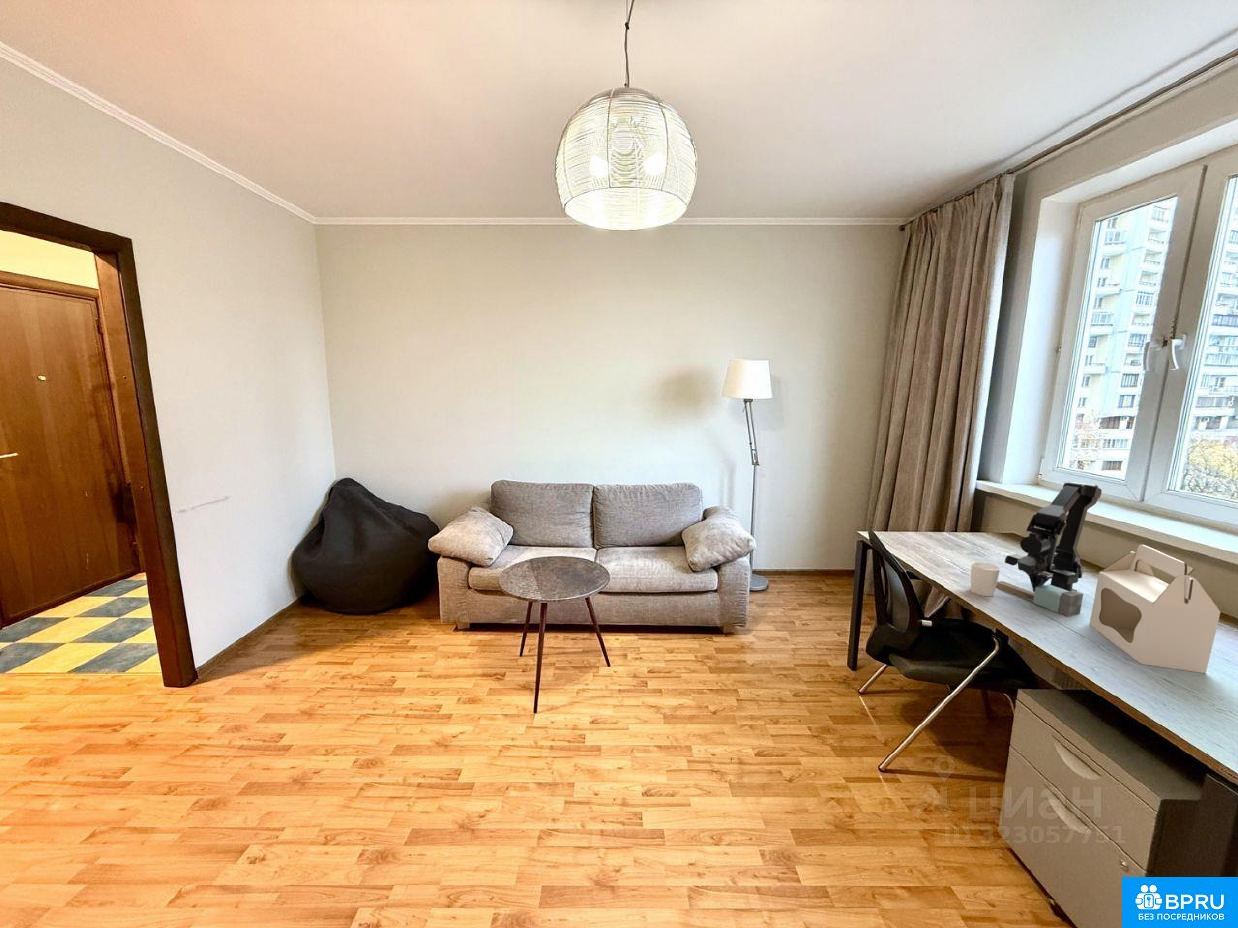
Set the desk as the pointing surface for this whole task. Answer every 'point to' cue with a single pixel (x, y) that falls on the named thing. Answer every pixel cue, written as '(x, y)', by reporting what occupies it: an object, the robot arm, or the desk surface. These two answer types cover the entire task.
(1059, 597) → the block
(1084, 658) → the desk surface
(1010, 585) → the rail
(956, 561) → the desk surface
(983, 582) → the white cup
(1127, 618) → the gable box
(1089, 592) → the desk surface
